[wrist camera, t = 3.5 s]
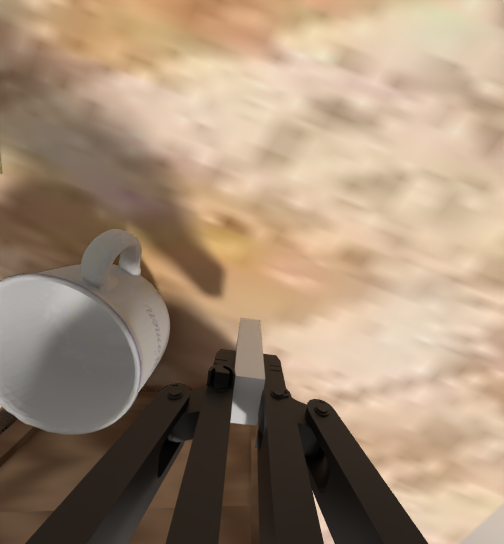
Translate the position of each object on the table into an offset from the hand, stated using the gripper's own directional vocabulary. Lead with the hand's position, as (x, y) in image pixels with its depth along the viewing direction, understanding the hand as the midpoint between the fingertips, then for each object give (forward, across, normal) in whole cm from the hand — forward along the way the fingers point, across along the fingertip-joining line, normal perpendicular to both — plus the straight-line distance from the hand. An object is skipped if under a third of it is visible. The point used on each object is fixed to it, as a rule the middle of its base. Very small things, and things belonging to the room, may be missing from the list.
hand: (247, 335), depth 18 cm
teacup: (+4, -11, 0) cm, 12 cm away
